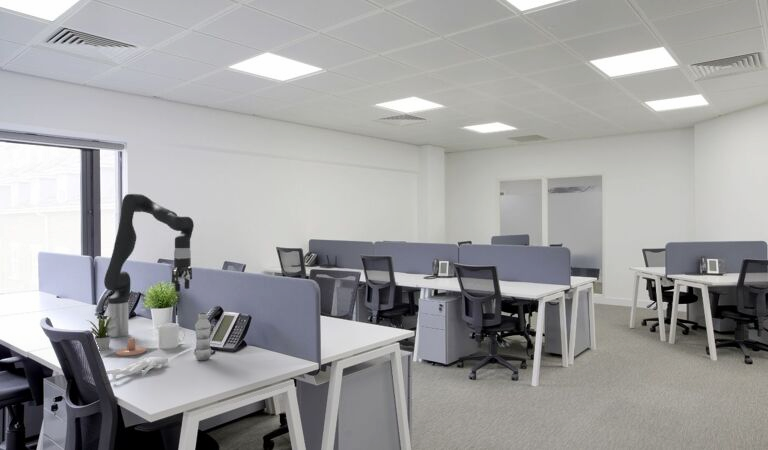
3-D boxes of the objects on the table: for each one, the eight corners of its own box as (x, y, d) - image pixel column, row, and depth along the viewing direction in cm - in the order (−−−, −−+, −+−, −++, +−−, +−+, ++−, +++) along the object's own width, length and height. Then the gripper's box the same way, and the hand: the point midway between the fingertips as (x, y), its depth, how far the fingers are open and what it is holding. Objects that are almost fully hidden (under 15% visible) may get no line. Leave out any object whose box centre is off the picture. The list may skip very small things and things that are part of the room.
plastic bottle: (214, 358, 207) (214, 312, 207) (203, 362, 201) (203, 315, 201) (202, 356, 210) (202, 311, 209) (191, 361, 203) (191, 314, 203)
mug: (188, 346, 227) (188, 323, 227) (163, 351, 218) (163, 328, 218) (180, 343, 233) (180, 321, 233) (155, 348, 224) (155, 325, 224)
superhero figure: (116, 388, 174) (175, 370, 196) (118, 372, 174) (176, 356, 196) (98, 379, 180) (157, 363, 202) (99, 364, 179) (158, 349, 201)
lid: (109, 355, 208) (109, 341, 208) (128, 348, 220) (128, 335, 220) (134, 357, 207) (134, 342, 206) (152, 349, 218) (152, 336, 218)
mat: (102, 358, 207) (102, 357, 207) (127, 348, 222) (127, 347, 222) (136, 360, 204) (136, 358, 204) (158, 350, 220) (158, 348, 220)
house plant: (129, 348, 224) (128, 313, 224) (100, 355, 211) (100, 318, 211) (109, 344, 230) (108, 310, 230) (80, 351, 217) (80, 316, 217)
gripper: (182, 255, 242) (182, 287, 242) (167, 258, 227) (166, 292, 228) (197, 256, 241) (196, 288, 241) (181, 258, 227) (181, 292, 227)
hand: (182, 290), depth 234 cm, fingers open, 8 cm apart
